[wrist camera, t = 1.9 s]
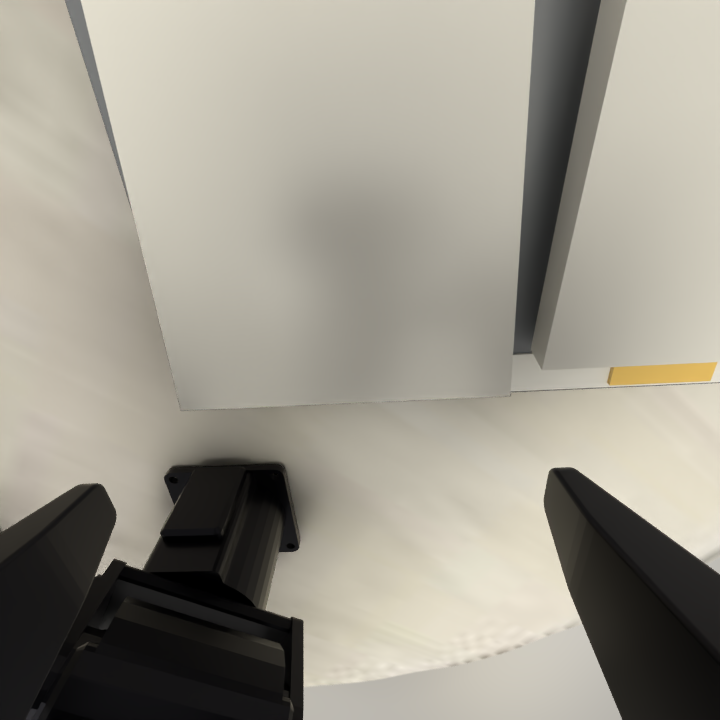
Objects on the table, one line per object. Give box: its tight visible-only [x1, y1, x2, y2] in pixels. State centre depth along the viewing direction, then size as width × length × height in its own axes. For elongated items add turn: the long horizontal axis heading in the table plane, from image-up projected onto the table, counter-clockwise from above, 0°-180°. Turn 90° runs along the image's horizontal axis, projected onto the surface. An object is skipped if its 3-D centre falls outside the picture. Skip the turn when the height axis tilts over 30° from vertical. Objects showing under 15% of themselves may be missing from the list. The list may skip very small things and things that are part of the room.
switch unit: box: [65, 0, 720, 392], centre depth 14 cm, size 15×24×4 cm, turn 94°
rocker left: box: [81, 0, 535, 411], centre depth 11 cm, size 12×10×1 cm
